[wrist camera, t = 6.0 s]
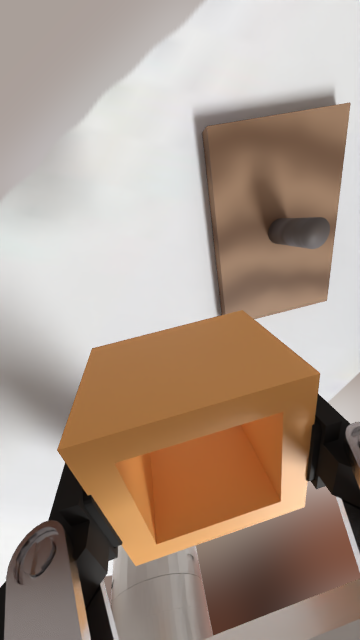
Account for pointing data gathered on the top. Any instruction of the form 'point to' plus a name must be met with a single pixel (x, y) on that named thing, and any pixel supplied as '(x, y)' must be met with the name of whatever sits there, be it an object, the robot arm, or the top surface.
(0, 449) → the top surface
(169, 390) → the orange square ring
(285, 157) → the board
